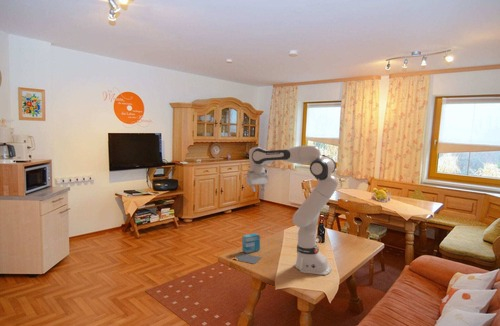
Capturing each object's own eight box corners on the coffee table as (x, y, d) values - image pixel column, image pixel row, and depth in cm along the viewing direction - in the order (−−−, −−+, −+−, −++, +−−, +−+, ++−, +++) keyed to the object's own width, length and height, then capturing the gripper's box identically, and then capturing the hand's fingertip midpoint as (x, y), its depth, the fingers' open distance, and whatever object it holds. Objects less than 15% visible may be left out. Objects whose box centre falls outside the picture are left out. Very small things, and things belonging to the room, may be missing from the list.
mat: (261, 257, 210) (261, 257, 210) (254, 264, 200) (254, 263, 200) (239, 253, 217) (239, 252, 217) (232, 259, 208) (232, 259, 208)
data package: (245, 253, 216) (244, 237, 215) (242, 251, 220) (242, 235, 219) (260, 250, 222) (259, 234, 220) (257, 248, 226) (256, 232, 224)
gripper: (250, 170, 198) (252, 191, 196) (269, 170, 213) (271, 190, 212) (243, 171, 202) (245, 192, 200) (262, 171, 217) (264, 191, 216)
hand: (258, 191), depth 206 cm, fingers open, 8 cm apart
